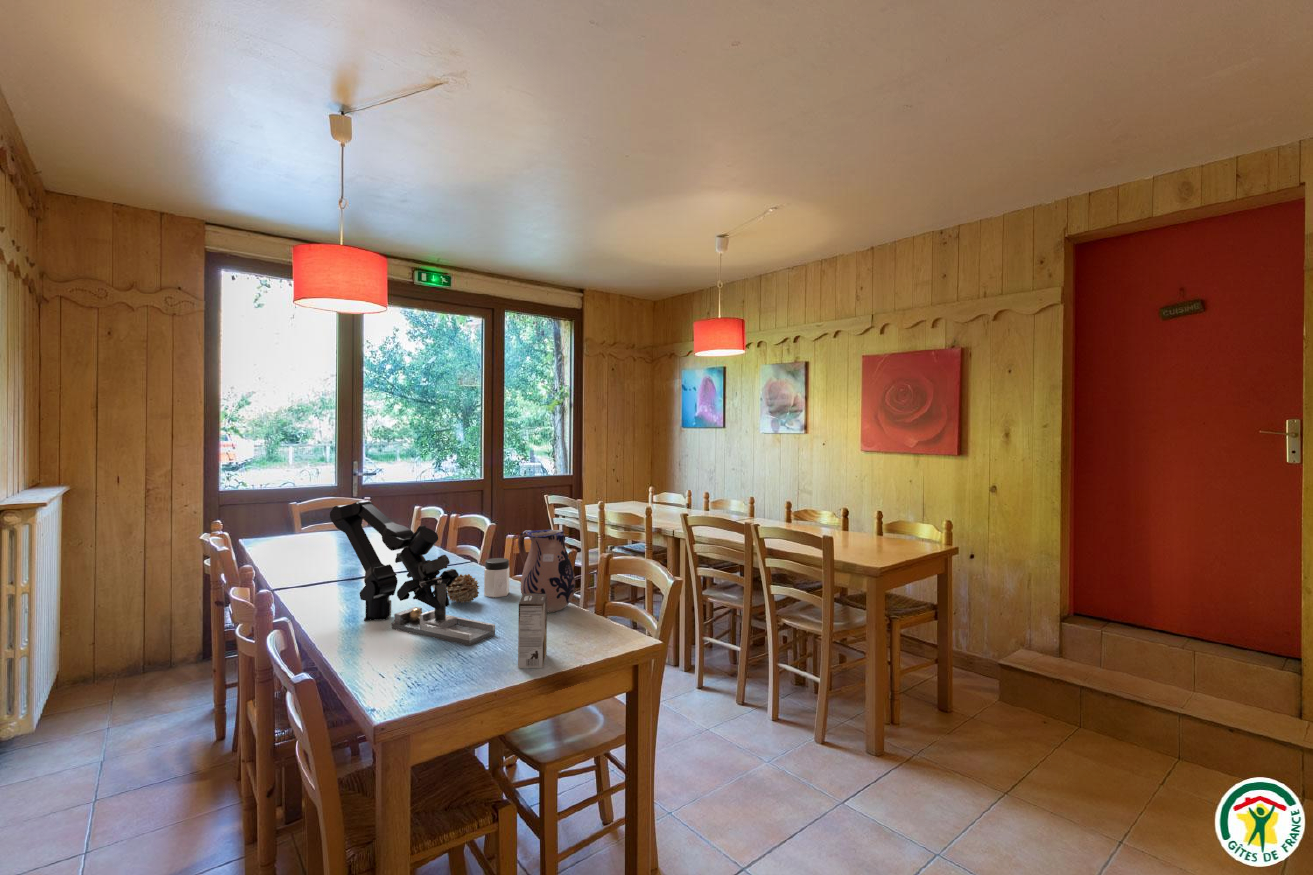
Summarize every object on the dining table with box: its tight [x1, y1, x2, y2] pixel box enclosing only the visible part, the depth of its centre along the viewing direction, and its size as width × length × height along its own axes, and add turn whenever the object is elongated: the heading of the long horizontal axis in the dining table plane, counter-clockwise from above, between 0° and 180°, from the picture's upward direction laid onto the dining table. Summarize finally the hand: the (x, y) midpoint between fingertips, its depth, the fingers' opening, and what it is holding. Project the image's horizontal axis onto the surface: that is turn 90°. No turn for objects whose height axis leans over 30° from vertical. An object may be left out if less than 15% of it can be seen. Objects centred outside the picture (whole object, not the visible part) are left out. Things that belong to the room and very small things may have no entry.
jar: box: [483, 557, 510, 598], centre depth 215 cm, size 9×8×12 cm
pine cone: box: [447, 573, 480, 604], centre depth 206 cm, size 22×10×10 cm, turn 49°
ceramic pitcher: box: [517, 529, 576, 613], centre depth 199 cm, size 18×21×25 cm
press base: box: [390, 606, 496, 647], centre depth 175 cm, size 30×10×5 cm, turn 64°
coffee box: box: [517, 593, 548, 669], centre depth 154 cm, size 9×6×16 cm
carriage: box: [420, 583, 458, 628], centre depth 176 cm, size 7×7×12 cm
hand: (443, 607), depth 175 cm, fingers closed on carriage, 3 cm apart
